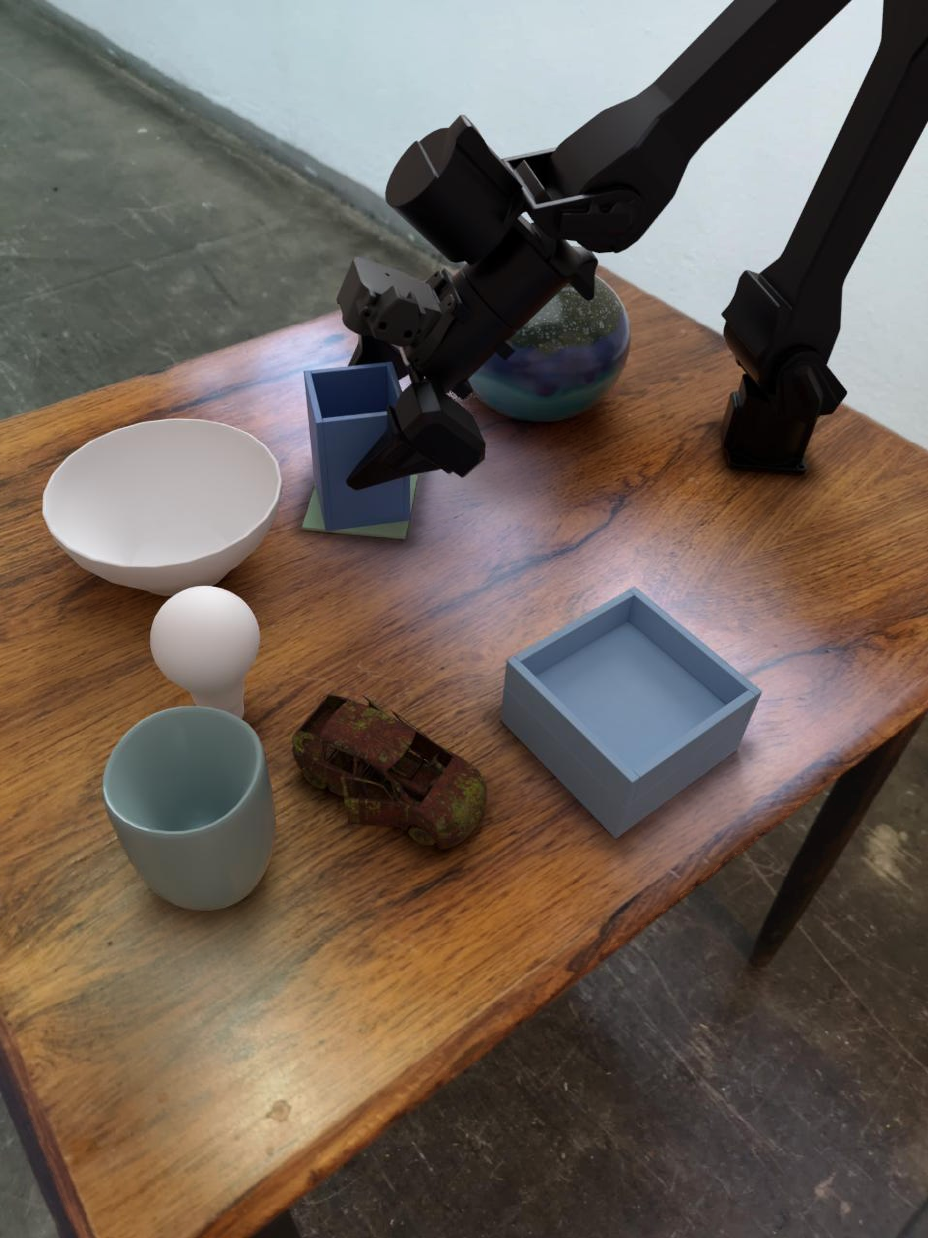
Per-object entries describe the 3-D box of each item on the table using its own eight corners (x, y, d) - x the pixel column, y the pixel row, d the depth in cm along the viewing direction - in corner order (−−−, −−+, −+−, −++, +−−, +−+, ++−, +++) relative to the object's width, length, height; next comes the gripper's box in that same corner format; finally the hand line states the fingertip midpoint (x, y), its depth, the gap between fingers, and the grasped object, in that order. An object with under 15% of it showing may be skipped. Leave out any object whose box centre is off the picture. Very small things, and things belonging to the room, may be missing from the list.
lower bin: (619, 646, 67) (634, 585, 62) (737, 749, 61) (762, 691, 56) (499, 719, 62) (506, 659, 57) (615, 839, 56) (632, 783, 52)
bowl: (21, 599, 67) (-12, 524, 62) (153, 470, 78) (134, 397, 72) (217, 670, 64) (200, 596, 59) (329, 524, 74) (322, 451, 69)
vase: (416, 409, 85) (416, 266, 75) (503, 333, 94) (513, 197, 84) (570, 470, 80) (592, 326, 70) (646, 384, 89) (675, 246, 79)
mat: (418, 474, 79) (418, 471, 78) (405, 539, 73) (405, 536, 73) (322, 465, 79) (322, 462, 79) (302, 529, 73) (301, 527, 73)
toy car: (272, 791, 58) (262, 743, 54) (338, 711, 62) (333, 662, 58) (444, 884, 54) (446, 840, 50) (502, 793, 58) (508, 746, 54)
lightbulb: (290, 699, 62) (272, 580, 54) (246, 773, 58) (219, 656, 50) (207, 673, 63) (176, 553, 55) (158, 744, 59) (117, 625, 51)
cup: (256, 946, 51) (229, 852, 44) (119, 915, 52) (70, 818, 44) (302, 821, 56) (285, 718, 49) (176, 795, 57) (141, 691, 50)
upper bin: (394, 468, 78) (392, 361, 71) (410, 520, 74) (410, 412, 67) (314, 477, 77) (303, 370, 70) (325, 531, 73) (315, 422, 66)
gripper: (382, 163, 67) (242, 322, 73) (442, 297, 54) (268, 474, 60) (485, 262, 74) (350, 398, 80) (558, 399, 62) (393, 548, 68)
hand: (340, 447), depth 72 cm, fingers open, 9 cm apart
